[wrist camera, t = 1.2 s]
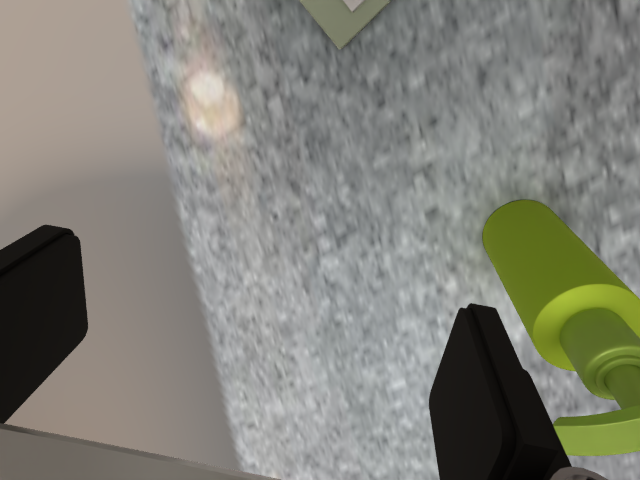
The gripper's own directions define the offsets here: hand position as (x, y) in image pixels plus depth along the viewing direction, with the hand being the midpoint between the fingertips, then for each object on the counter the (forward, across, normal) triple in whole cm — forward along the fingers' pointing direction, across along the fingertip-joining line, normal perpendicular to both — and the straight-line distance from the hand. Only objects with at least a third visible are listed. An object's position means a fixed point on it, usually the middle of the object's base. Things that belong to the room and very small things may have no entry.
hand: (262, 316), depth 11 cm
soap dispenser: (+26, -16, +6) cm, 31 cm away
